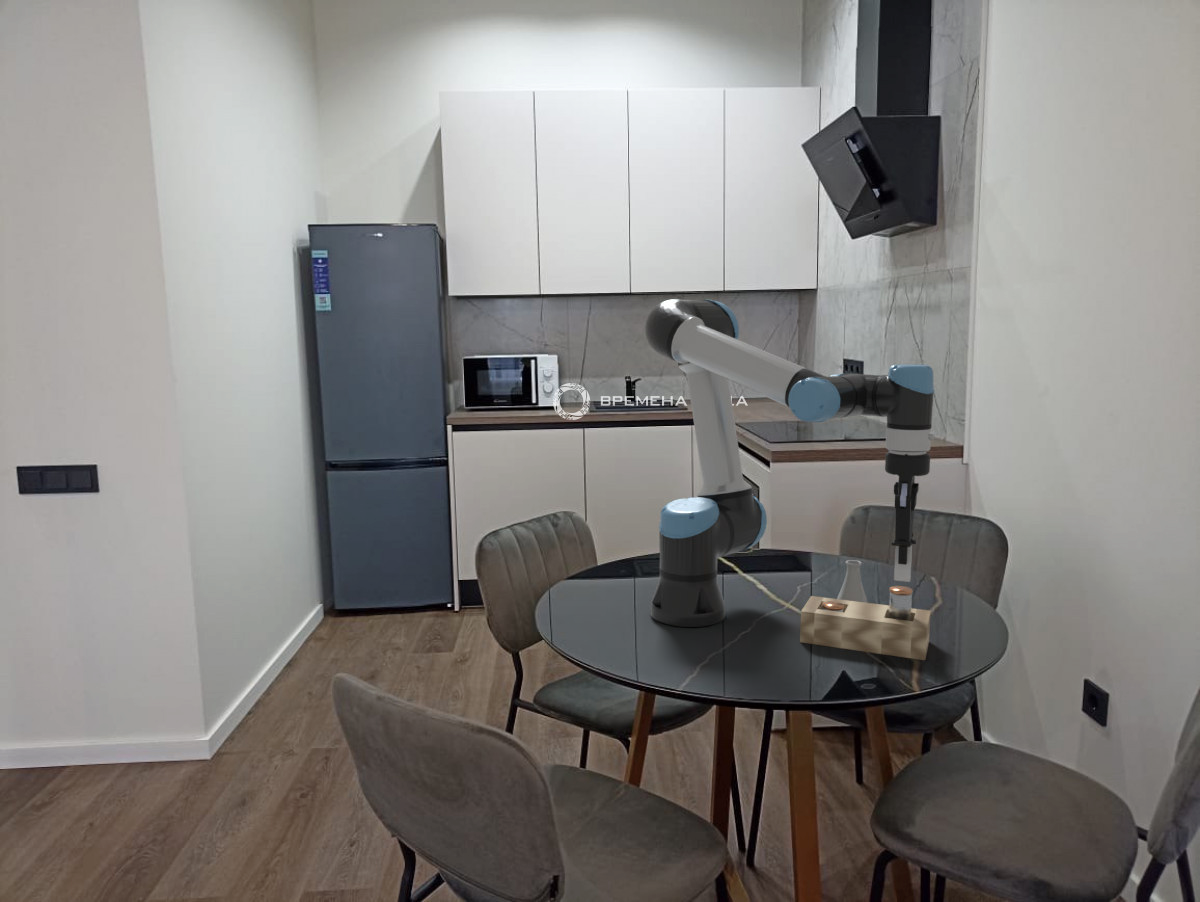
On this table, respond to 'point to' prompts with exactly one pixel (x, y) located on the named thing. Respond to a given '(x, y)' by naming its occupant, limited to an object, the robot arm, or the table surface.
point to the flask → (852, 583)
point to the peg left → (832, 606)
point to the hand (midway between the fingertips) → (902, 579)
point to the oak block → (865, 628)
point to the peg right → (900, 603)
